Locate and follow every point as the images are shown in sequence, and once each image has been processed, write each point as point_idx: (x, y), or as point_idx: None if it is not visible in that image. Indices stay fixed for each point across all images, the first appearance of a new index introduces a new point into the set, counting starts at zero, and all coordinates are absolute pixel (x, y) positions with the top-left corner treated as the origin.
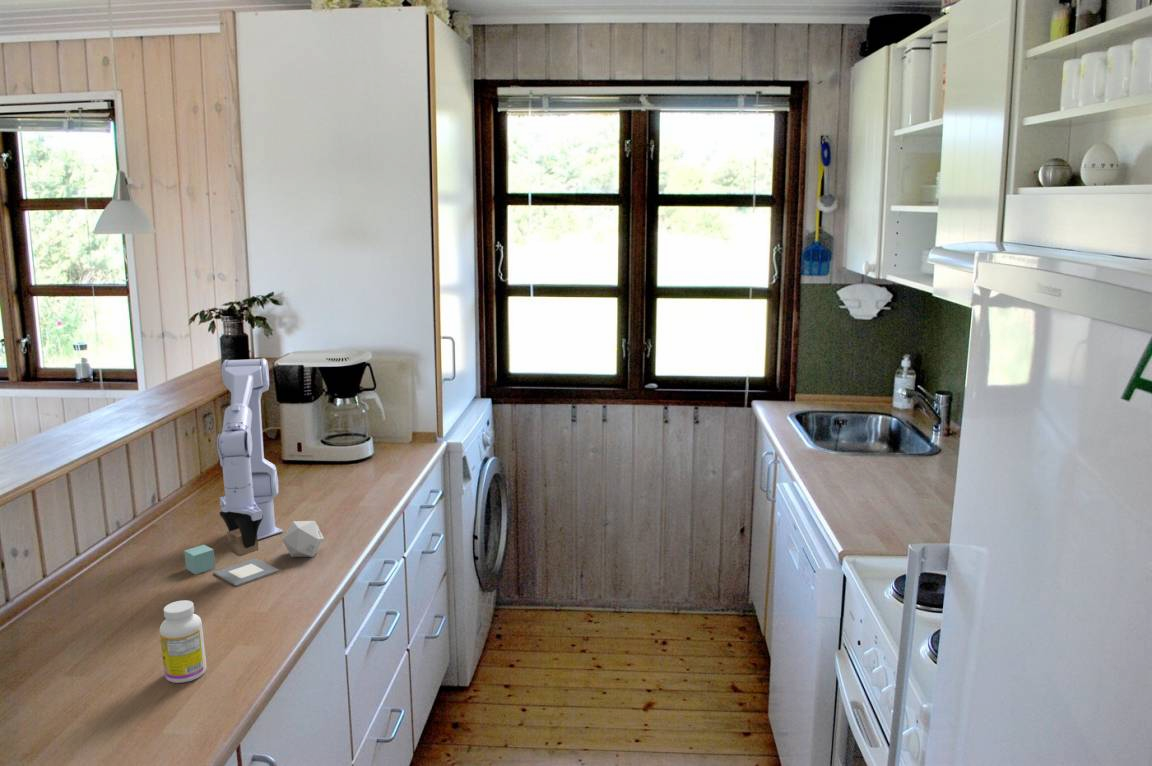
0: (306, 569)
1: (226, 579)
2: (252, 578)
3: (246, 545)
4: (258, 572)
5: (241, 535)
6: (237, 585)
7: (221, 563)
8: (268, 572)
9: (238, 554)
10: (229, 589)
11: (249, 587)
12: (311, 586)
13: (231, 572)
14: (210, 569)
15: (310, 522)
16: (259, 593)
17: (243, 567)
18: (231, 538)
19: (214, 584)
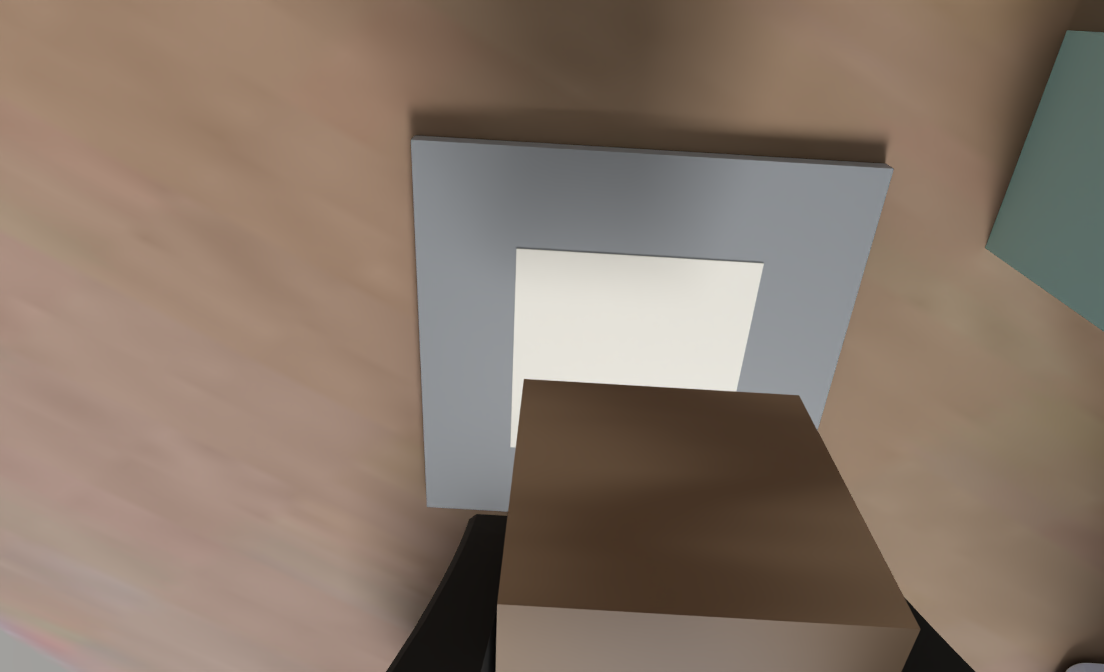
0: (319, 602)
1: (614, 152)
2: (432, 310)
3: (461, 547)
4: (509, 401)
5: (472, 668)
6: (411, 149)
7: (1009, 334)
8: (444, 443)
9: (538, 393)
10: (410, 55)
11: (311, 204)
12: (6, 485)
13: (715, 269)
14: (1004, 200)
15: None
16: (119, 189)
17: (711, 385)
18: (738, 546)
19: (652, 21)
